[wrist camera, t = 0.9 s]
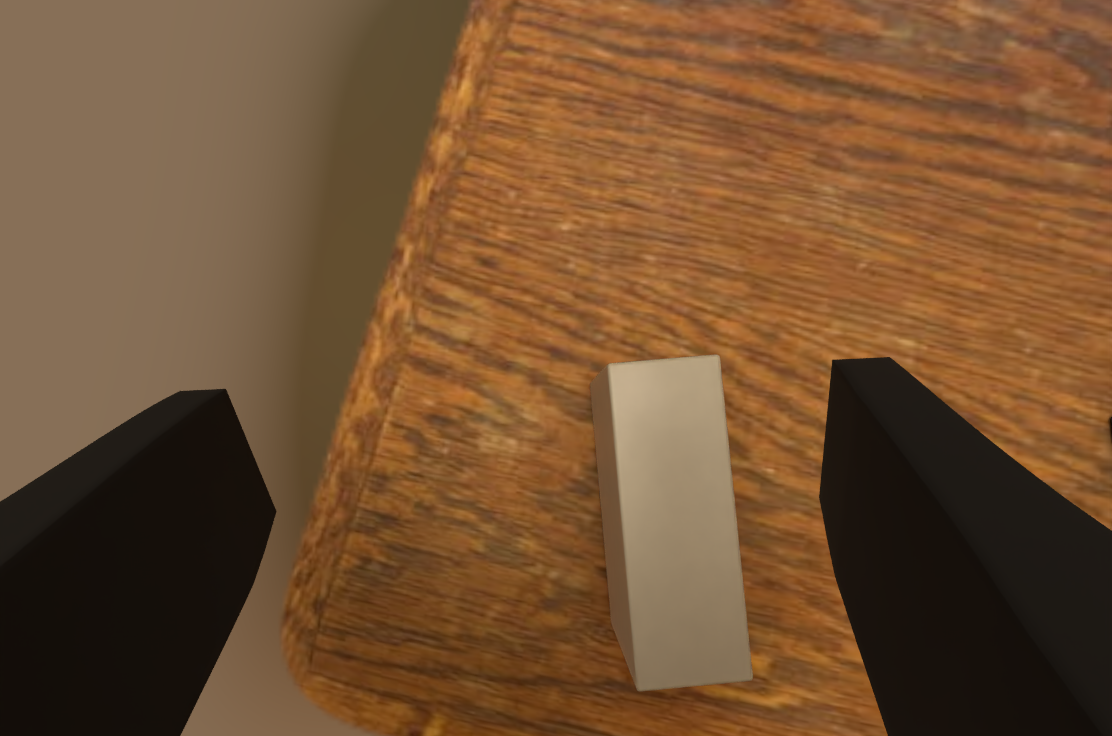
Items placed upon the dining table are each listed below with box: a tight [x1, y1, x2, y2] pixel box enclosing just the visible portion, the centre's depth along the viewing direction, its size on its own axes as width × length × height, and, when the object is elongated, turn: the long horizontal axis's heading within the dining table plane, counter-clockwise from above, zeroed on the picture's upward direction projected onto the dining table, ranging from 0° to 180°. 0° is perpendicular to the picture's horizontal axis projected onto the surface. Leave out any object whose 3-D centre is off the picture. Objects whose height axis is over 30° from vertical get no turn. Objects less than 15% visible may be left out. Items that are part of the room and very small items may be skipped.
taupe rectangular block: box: [590, 355, 753, 691], centre depth 20 cm, size 7×2×6 cm, turn 5°
